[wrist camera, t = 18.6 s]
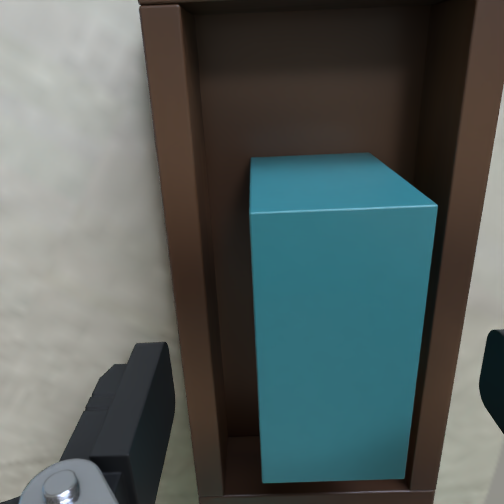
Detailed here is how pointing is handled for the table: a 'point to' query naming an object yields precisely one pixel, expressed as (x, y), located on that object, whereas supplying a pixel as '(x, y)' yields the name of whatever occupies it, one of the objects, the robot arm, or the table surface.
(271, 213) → the block
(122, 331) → the table surface
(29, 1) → the table surface
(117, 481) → the robot arm
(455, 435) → the table surface
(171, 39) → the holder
